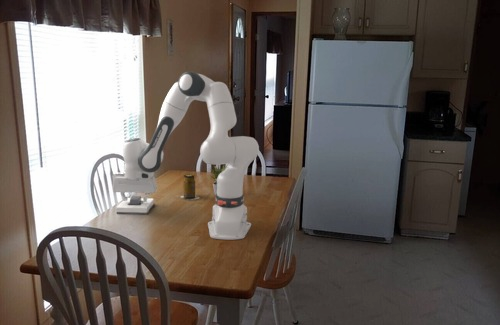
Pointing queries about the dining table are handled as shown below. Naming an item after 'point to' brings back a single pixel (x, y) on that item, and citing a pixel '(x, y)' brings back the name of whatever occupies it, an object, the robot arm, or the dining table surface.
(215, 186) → the house plant
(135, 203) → the plug
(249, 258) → the dining table surface
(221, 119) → the robot arm
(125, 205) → the socket
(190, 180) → the condiment
